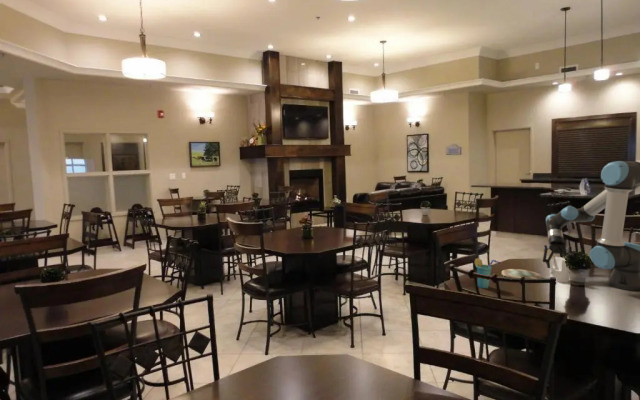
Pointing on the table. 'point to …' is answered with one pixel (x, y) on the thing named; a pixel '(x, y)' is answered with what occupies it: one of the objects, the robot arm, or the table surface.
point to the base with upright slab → (560, 270)
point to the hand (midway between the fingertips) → (561, 273)
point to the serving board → (520, 274)
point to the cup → (483, 272)
